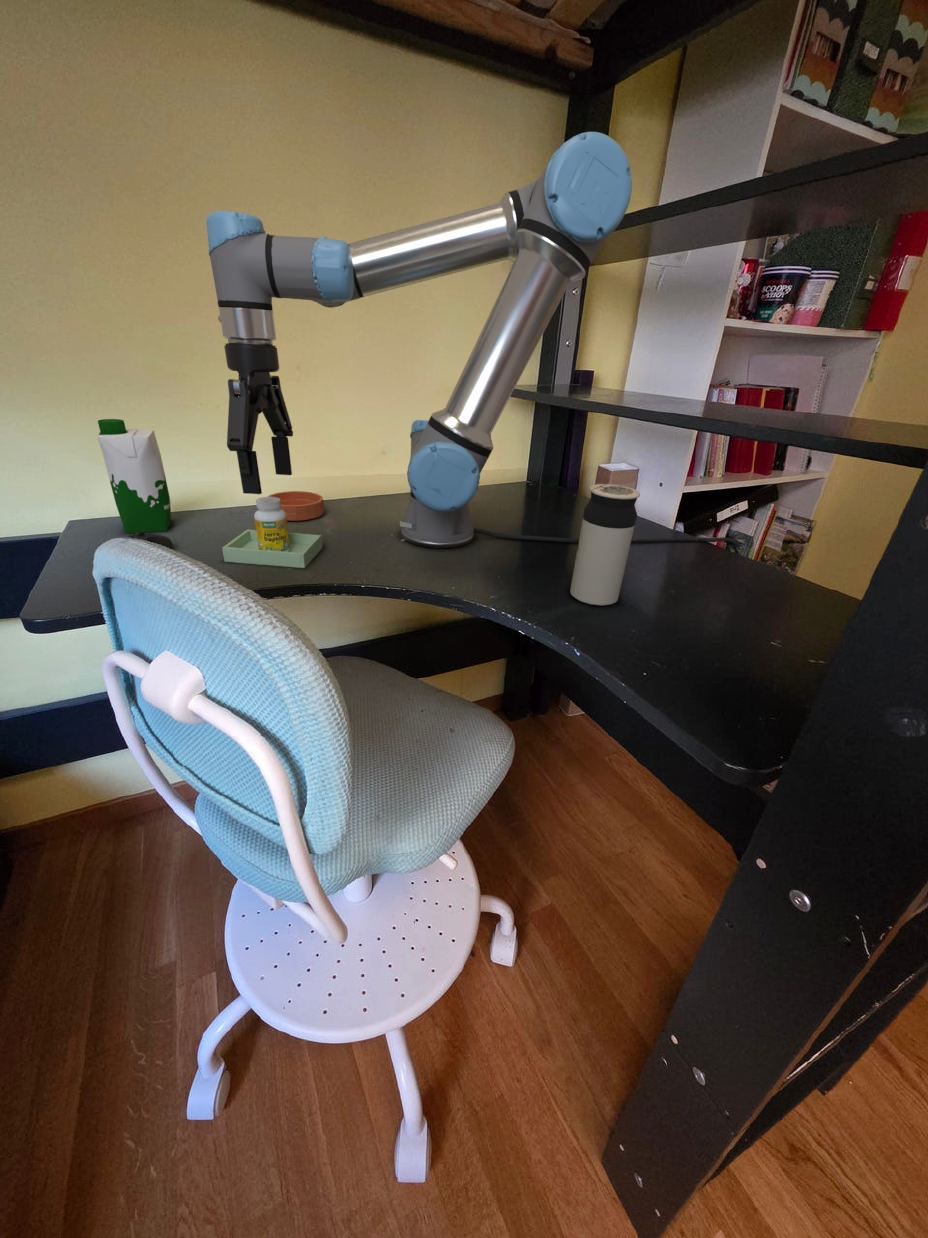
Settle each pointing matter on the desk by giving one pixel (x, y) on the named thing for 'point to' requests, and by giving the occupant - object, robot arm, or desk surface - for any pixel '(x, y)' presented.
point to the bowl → (300, 504)
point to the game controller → (153, 538)
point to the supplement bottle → (271, 525)
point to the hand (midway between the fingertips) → (269, 483)
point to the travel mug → (604, 544)
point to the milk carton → (135, 476)
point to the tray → (248, 551)
